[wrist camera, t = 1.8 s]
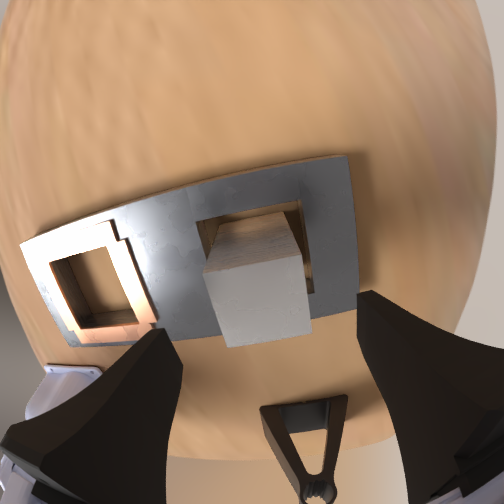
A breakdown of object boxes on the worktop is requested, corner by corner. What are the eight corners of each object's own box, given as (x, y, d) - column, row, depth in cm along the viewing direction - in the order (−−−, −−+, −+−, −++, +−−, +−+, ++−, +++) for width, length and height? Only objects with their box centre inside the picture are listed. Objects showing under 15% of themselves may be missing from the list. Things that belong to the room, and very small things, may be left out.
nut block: (235, 279, 19) (227, 347, 12) (220, 224, 17) (201, 273, 11) (292, 268, 19) (312, 333, 12) (282, 211, 17) (301, 254, 11)
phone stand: (347, 393, 24) (376, 494, 13) (341, 422, 26) (361, 509, 15) (259, 406, 24) (261, 514, 13) (264, 433, 27) (267, 524, 16)
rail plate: (79, 334, 21) (68, 349, 19) (34, 236, 18) (17, 245, 15) (350, 293, 19) (361, 310, 17) (336, 154, 16) (348, 155, 14)
